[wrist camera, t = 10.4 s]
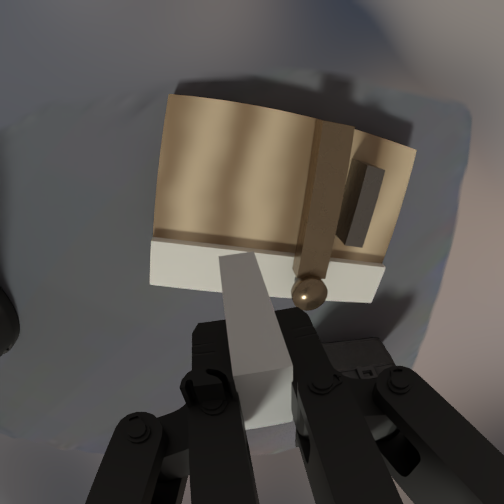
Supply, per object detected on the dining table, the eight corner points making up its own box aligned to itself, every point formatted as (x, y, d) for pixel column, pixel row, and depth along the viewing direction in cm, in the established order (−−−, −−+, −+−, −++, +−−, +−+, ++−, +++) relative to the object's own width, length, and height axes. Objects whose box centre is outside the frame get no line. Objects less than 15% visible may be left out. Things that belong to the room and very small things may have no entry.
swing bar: (315, 295, 34) (323, 310, 31) (284, 295, 33) (290, 310, 31) (348, 125, 26) (361, 128, 23) (312, 119, 25) (323, 120, 23)
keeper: (332, 231, 32) (345, 245, 29) (351, 158, 29) (367, 165, 26) (348, 234, 32) (362, 247, 29) (368, 163, 29) (385, 170, 26)
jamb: (155, 266, 35) (146, 294, 29) (157, 226, 32) (147, 248, 27) (358, 286, 39) (377, 311, 34) (371, 252, 37) (392, 275, 32)
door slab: (157, 226, 32) (152, 236, 30) (173, 95, 27) (168, 94, 24) (371, 252, 37) (381, 263, 35) (402, 146, 32) (416, 150, 29)
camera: (288, 388, 47) (302, 437, 38) (297, 341, 42) (315, 394, 34) (365, 377, 49) (387, 419, 40) (383, 331, 44) (412, 375, 35)
